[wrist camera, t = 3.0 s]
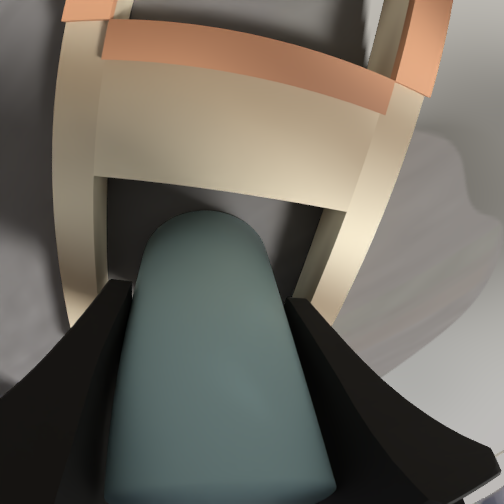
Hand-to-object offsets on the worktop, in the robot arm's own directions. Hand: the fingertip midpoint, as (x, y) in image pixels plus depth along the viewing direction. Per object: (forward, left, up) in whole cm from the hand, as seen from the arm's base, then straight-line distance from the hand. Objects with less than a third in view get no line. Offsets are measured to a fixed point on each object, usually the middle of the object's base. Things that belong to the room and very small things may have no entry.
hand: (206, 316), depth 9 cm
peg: (0, 0, -2) cm, 2 cm away
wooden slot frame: (+5, -1, -2) cm, 6 cm away
